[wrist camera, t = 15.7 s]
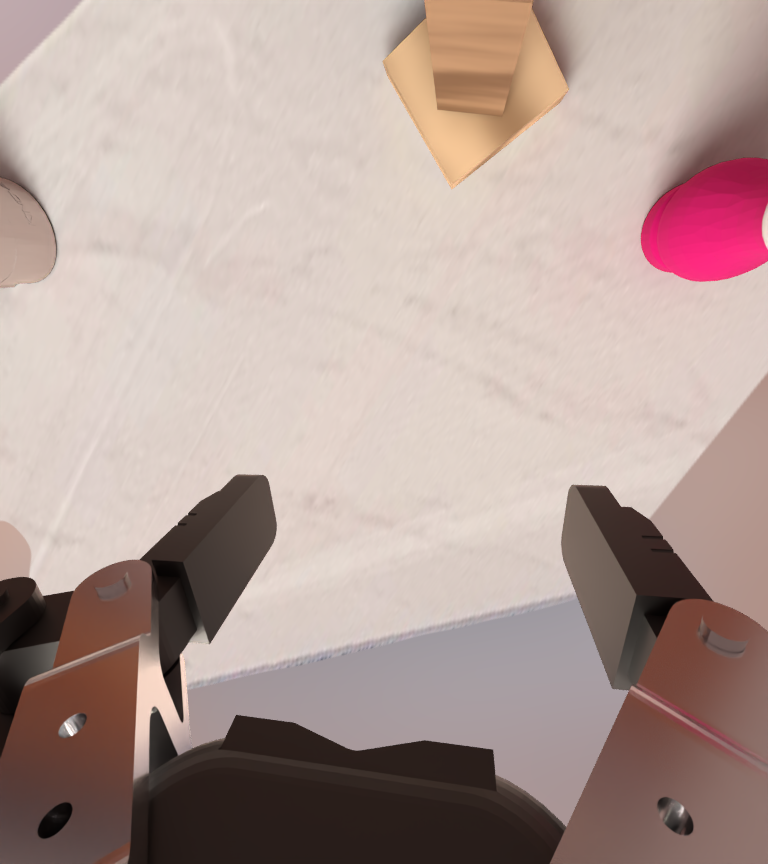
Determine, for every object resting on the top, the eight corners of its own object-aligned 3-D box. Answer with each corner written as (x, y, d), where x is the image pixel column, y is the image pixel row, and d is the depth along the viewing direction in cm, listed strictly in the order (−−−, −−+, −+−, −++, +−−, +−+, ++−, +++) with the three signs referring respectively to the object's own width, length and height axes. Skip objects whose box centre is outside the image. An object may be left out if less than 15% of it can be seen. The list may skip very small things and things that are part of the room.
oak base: (451, 190, 32) (451, 183, 29) (388, 79, 30) (382, 61, 27) (557, 105, 29) (569, 89, 26) (496, -26, 27) (501, -58, 24)
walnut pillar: (502, 116, 27) (532, 3, 16) (437, 109, 28) (423, -5, 16) (519, 31, 25) (567, -162, 14) (450, 25, 26) (444, -165, 15)
